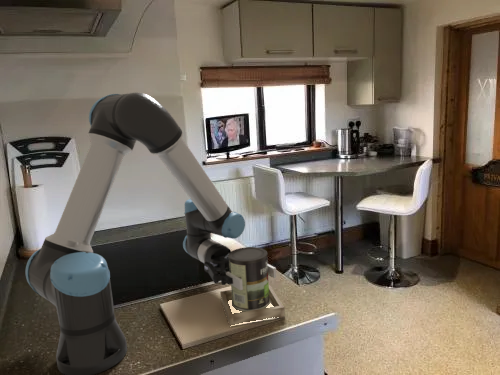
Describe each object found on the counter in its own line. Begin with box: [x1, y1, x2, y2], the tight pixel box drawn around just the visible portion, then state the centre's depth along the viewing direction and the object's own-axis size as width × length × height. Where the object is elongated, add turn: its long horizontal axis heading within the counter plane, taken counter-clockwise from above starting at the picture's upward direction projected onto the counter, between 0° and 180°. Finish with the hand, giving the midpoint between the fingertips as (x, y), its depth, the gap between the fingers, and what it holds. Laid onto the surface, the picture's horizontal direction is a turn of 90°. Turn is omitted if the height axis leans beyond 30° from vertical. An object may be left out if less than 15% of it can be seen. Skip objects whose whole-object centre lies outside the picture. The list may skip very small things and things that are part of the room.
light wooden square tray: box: [219, 283, 286, 327], centre depth 114 cm, size 14×14×3 cm
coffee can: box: [228, 246, 270, 312], centre depth 112 cm, size 10×10×14 cm
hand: (258, 278), depth 108 cm, fingers closed on coffee can, 10 cm apart
